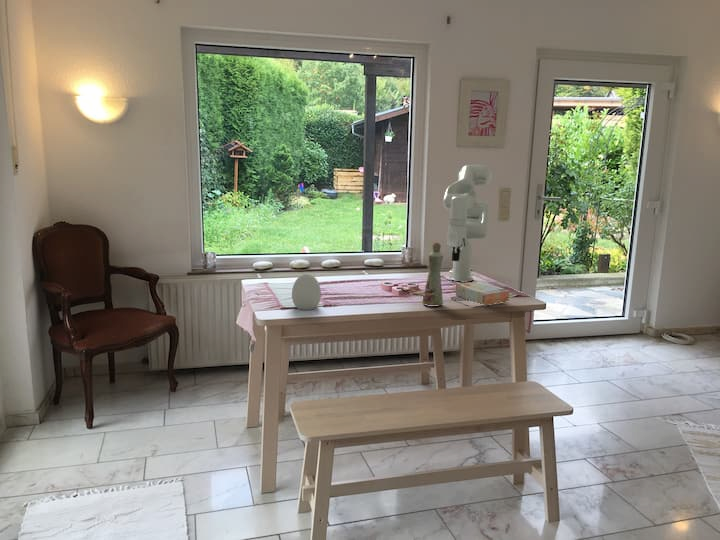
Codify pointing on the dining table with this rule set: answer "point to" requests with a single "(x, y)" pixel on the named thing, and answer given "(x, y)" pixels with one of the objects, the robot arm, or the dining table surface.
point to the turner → (417, 292)
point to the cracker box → (482, 292)
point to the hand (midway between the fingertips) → (455, 260)
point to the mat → (459, 298)
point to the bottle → (434, 278)
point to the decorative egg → (306, 292)
